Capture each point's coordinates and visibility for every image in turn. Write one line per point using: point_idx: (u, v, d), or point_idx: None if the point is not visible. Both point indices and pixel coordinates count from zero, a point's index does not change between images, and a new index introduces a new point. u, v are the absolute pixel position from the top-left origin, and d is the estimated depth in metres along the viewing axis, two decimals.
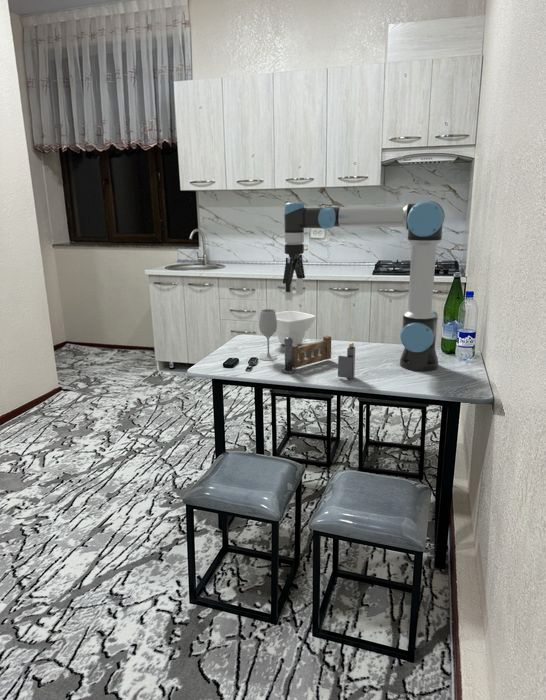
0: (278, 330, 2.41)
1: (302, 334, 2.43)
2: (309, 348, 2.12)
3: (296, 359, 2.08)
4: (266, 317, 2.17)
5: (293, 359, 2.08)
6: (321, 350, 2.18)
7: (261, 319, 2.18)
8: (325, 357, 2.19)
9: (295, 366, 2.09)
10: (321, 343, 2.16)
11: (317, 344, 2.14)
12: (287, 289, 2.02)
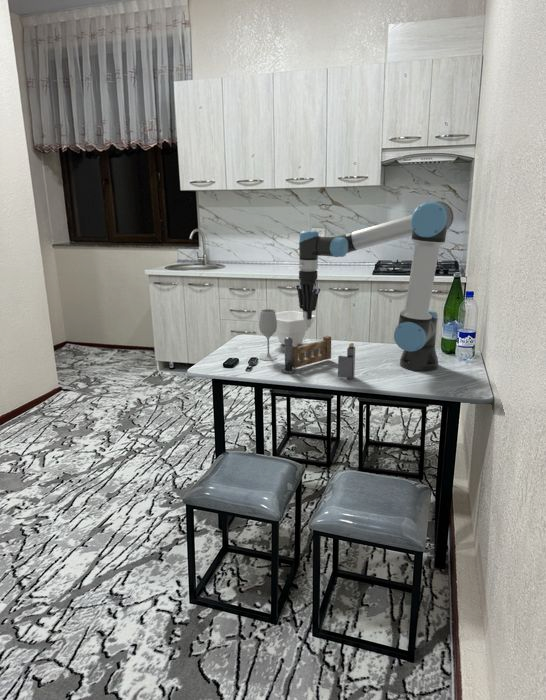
0: (278, 330, 2.41)
1: (302, 334, 2.43)
2: (309, 348, 2.12)
3: (296, 359, 2.08)
4: (266, 317, 2.17)
5: (293, 359, 2.08)
6: (321, 350, 2.18)
7: (261, 319, 2.18)
8: (325, 357, 2.19)
9: (295, 366, 2.09)
10: (321, 343, 2.16)
11: (317, 344, 2.14)
12: (310, 316, 2.16)
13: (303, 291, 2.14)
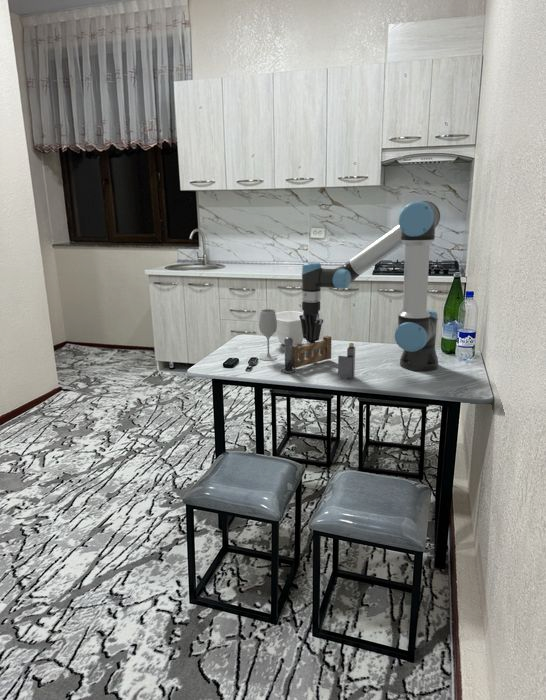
0: (278, 330, 2.41)
1: (302, 334, 2.43)
2: (309, 348, 2.12)
3: (296, 359, 2.08)
4: (266, 317, 2.17)
5: (293, 359, 2.08)
6: (321, 350, 2.18)
7: (261, 319, 2.18)
8: (325, 357, 2.19)
9: (295, 366, 2.09)
10: (321, 343, 2.16)
11: (317, 344, 2.14)
12: None
13: (306, 321, 2.16)
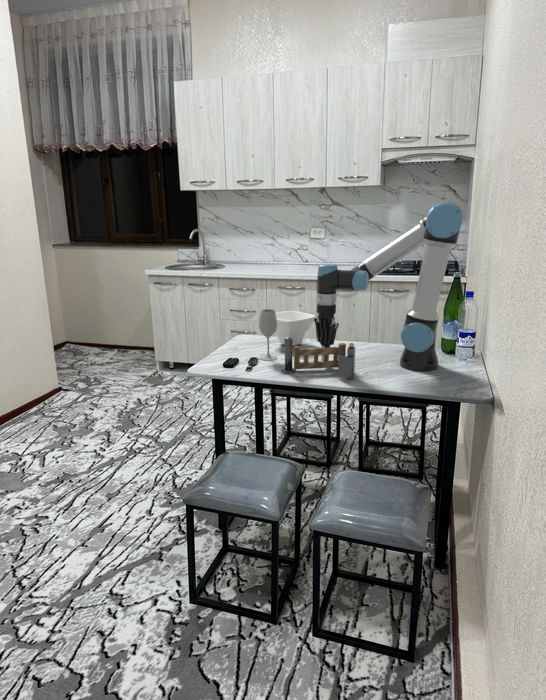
0: (278, 330, 2.41)
1: (302, 334, 2.43)
2: (315, 352, 2.06)
3: (297, 361, 2.06)
4: (266, 317, 2.17)
5: (294, 360, 2.07)
6: (333, 357, 2.08)
7: (261, 319, 2.18)
8: (337, 365, 2.09)
9: (295, 367, 2.07)
10: (332, 349, 2.07)
11: (326, 349, 2.06)
12: None
13: (321, 325, 2.08)
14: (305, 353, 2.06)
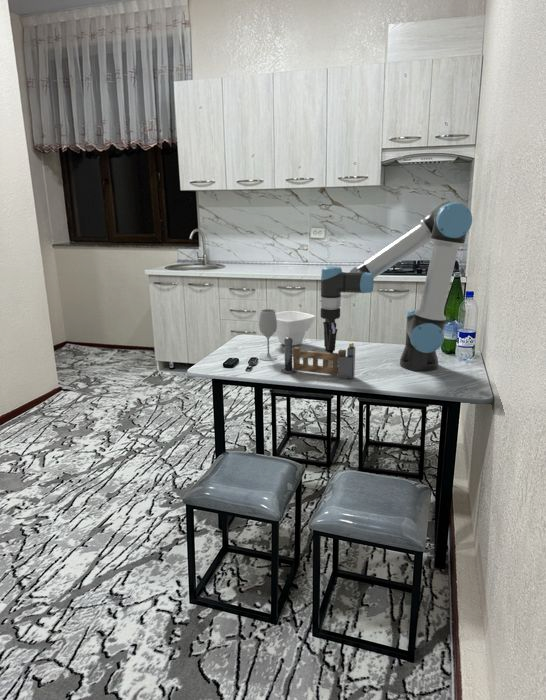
0: (278, 330, 2.41)
1: (302, 334, 2.43)
2: (313, 355, 2.02)
3: (296, 362, 2.05)
4: (266, 317, 2.17)
5: None
6: None
7: (261, 319, 2.18)
8: (336, 372, 2.00)
9: (294, 368, 2.06)
10: (330, 355, 1.99)
11: (324, 354, 2.00)
12: None
13: (325, 329, 2.02)
14: (303, 355, 2.03)
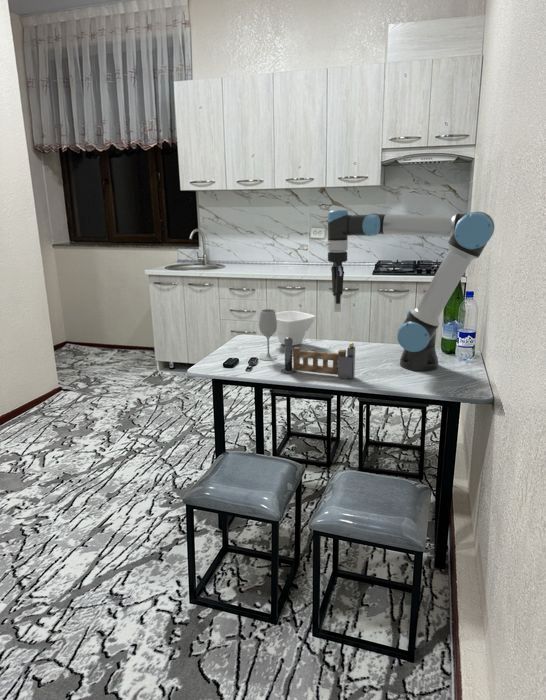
0: (278, 330, 2.41)
1: (302, 334, 2.43)
2: (313, 355, 2.02)
3: (296, 362, 2.05)
4: (266, 317, 2.17)
5: None
6: None
7: (261, 319, 2.18)
8: (336, 372, 2.00)
9: (294, 368, 2.06)
10: (330, 355, 1.99)
11: (324, 354, 2.00)
12: (338, 301, 2.05)
13: (332, 273, 2.05)
14: (303, 355, 2.03)
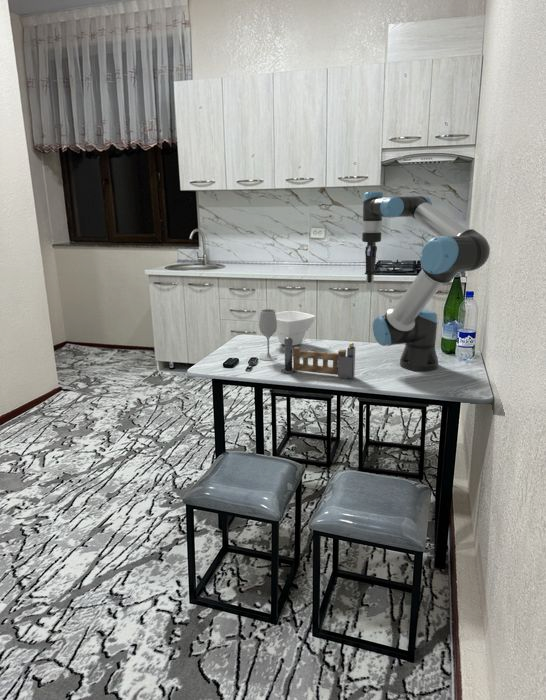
0: (278, 330, 2.41)
1: (302, 334, 2.43)
2: (313, 355, 2.02)
3: (296, 362, 2.05)
4: (266, 317, 2.17)
5: None
6: None
7: (261, 319, 2.18)
8: (336, 372, 2.00)
9: (294, 368, 2.06)
10: (330, 355, 1.99)
11: (324, 354, 2.00)
12: (369, 280, 2.13)
13: None
14: (303, 355, 2.03)
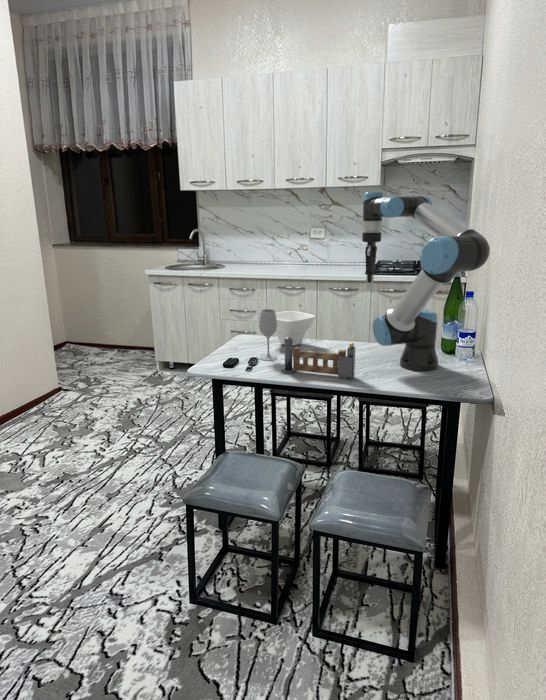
0: (278, 330, 2.41)
1: (302, 334, 2.43)
2: (313, 355, 2.02)
3: (296, 362, 2.05)
4: (266, 317, 2.17)
5: None
6: None
7: (261, 319, 2.18)
8: (336, 372, 2.00)
9: (294, 368, 2.06)
10: (330, 355, 1.99)
11: (324, 354, 2.00)
12: (369, 280, 2.13)
13: None
14: (303, 355, 2.03)
